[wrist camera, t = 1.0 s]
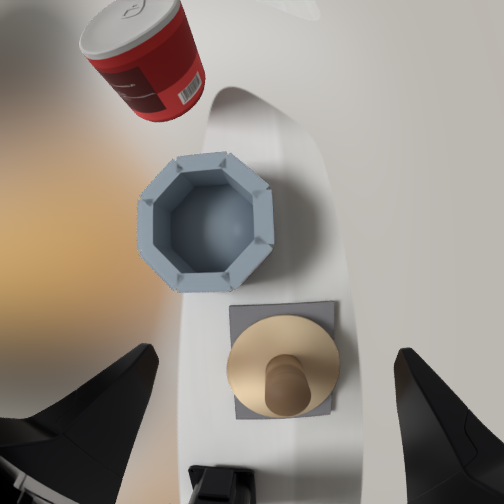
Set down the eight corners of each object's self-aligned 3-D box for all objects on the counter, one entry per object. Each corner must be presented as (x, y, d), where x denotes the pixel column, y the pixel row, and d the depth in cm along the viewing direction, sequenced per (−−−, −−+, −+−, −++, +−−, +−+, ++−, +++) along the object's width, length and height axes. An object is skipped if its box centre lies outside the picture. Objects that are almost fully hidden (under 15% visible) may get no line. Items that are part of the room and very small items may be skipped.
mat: (329, 411, 20) (330, 414, 20) (236, 415, 21) (236, 419, 20) (332, 300, 21) (334, 301, 20) (229, 305, 21) (228, 306, 21)
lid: (334, 407, 20) (350, 442, 14) (232, 412, 20) (222, 449, 15) (337, 310, 20) (360, 325, 15) (225, 315, 21) (211, 332, 15)
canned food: (204, 55, 23) (179, -24, 12) (211, 113, 22) (178, 27, 11) (135, 75, 23) (89, 10, 12) (133, 134, 23) (68, 71, 12)
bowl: (274, 284, 21) (276, 290, 17) (162, 287, 22) (138, 292, 17) (268, 171, 22) (269, 148, 17) (161, 179, 22) (139, 162, 18)
